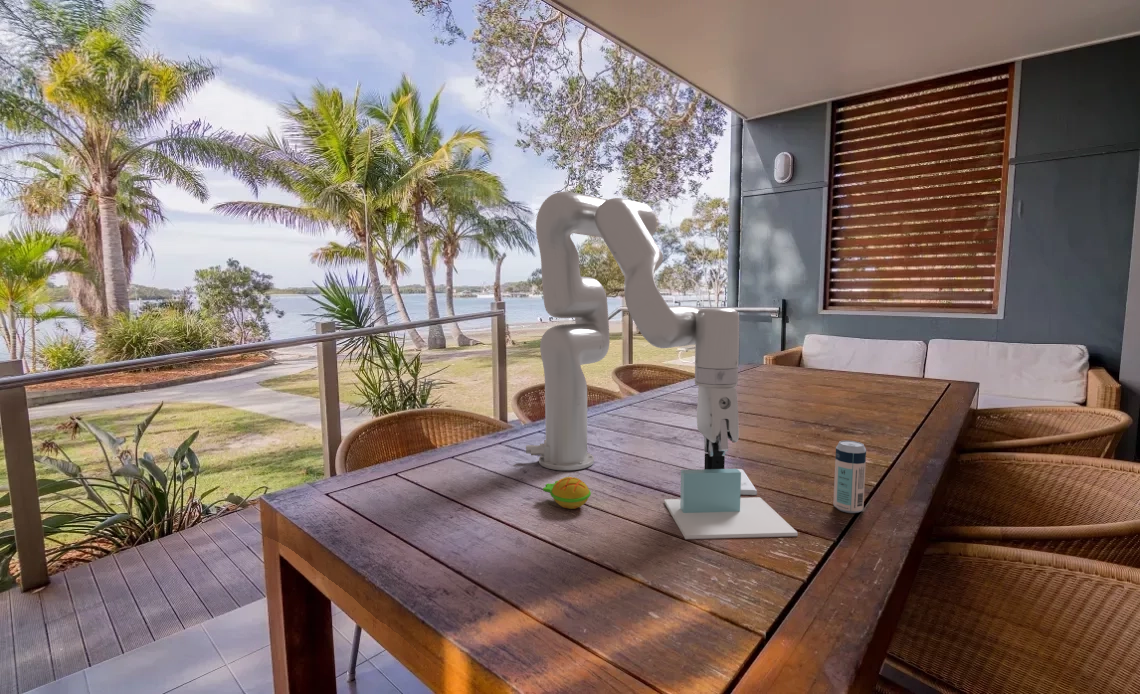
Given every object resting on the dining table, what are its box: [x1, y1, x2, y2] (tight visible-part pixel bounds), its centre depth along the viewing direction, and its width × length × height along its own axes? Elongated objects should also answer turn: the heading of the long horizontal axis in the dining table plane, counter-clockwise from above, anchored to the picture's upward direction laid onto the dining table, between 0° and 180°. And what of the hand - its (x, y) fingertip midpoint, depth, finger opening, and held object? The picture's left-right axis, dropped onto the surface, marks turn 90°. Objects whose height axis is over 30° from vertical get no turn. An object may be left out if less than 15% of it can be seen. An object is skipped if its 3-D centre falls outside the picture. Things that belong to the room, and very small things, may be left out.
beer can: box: [832, 440, 867, 514], centre depth 96 cm, size 5×5×12 cm
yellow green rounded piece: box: [542, 476, 592, 510], centre depth 99 cm, size 7×10×5 cm
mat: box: [663, 496, 799, 540], centre depth 93 cm, size 18×15×1 cm
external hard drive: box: [737, 468, 758, 496], centre depth 110 cm, size 2×8×12 cm
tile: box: [680, 468, 741, 513], centre depth 95 cm, size 10×2×7 cm, turn 93°
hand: (714, 475), depth 99 cm, fingers closed
